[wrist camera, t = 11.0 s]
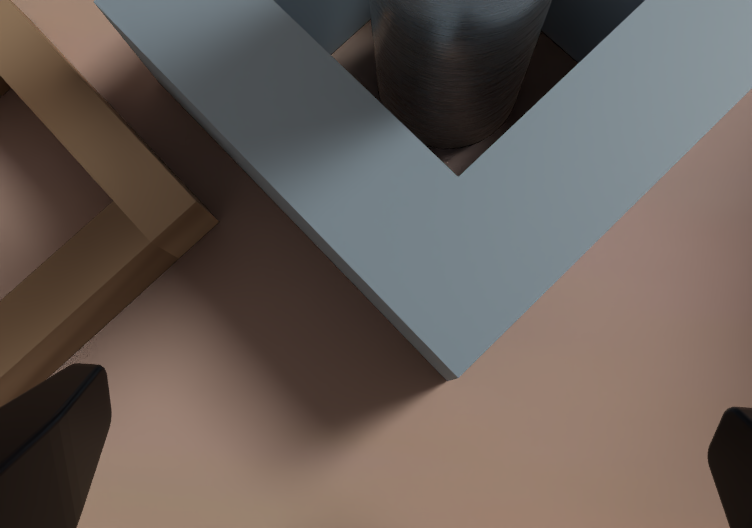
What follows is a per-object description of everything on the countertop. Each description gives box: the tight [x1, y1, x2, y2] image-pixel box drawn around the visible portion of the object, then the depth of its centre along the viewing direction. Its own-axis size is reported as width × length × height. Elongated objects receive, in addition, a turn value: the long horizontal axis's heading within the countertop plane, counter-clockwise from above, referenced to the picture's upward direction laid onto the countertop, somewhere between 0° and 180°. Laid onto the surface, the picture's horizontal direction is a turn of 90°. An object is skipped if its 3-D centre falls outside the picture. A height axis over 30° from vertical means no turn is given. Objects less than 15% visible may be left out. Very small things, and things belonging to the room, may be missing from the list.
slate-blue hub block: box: [93, 0, 752, 381], centre depth 17 cm, size 12×12×4 cm
